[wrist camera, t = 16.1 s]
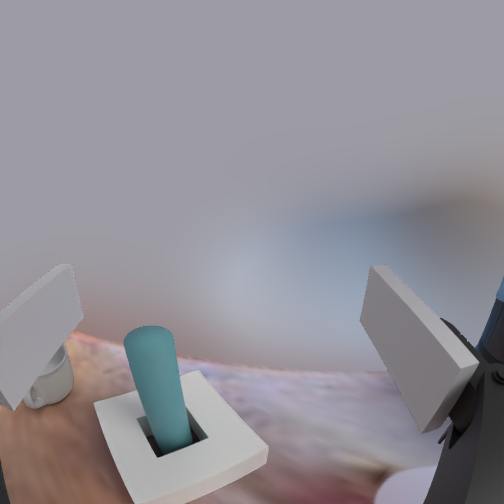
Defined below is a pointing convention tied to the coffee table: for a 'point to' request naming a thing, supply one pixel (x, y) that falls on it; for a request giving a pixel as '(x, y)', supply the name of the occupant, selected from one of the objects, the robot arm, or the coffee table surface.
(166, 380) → the peg
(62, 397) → the teacup
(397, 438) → the coffee table surface
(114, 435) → the socket block
